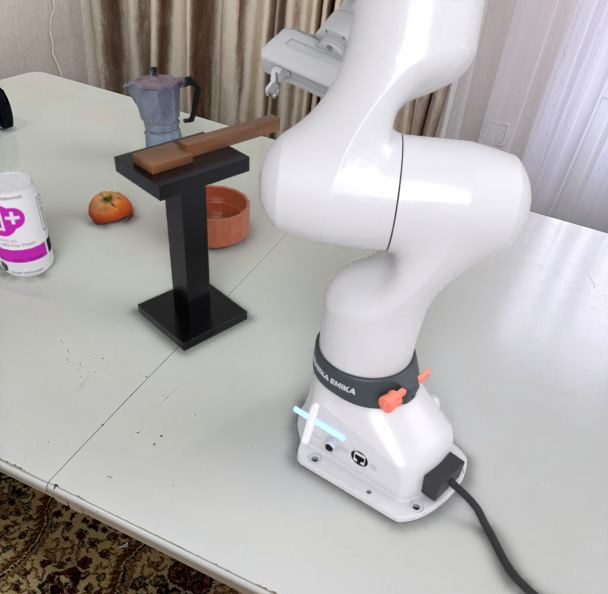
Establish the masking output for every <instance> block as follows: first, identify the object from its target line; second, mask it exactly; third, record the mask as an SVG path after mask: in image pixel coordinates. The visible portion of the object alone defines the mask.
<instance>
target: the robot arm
mask: <svg viewBox="0 0 608 594" xmlns="http://www.w3.org/2000/svg"><path fill="white" fill-rule="evenodd" d="M485 4H486V0H342V2H341V5H340V7H339V8H337V9H336V10H334V11H333V12H332V13H331V14H330V15H329V16H328V18H326V20H325V21H324V23H323V24H322V25H321V26H320V27H319V29H318V30H317V31H316V32H315V34H312V33H311V32H307V31H304V30H302V29H300V28H299V27H294V26H293V27H292V28H283V29H281V30H280V32H279V33H277V34H276V35H275V36H273V37H272V38H271V39H270V40H269V41H268V42H267V43H266V44H265V45H264V46H263V47H262V48H261V50H260V52H259V58H260V64H261V65H260V66H261V69H262V72H264V73H266V74H268V75H270V81H269V82H268V84H267V85H266V87H265V96H266V97H269V98H271V99H273V100H275V99H276V98H277V96H279V94H280V93H281V91H280V84H281V82H283V81H284V82H285V83H287V84H290V85H293V86H295V87H297V88H299V89H301V90H303V91H305V92H308V93H310V94H312V95H314V96H316V97H319V98H321V99H320V101H319V102H318V103H317V104H316V105H315V106H314V107H313V109H312V110H311V111H310V112H309V113H308V114H306V115H305V116H304V117H303V118H302V119H301V120H299V121H298V122H296V123H295V124H294V125H293V126H291V127H290V128H288V129H286V130H285V131H283V132H282V133H281V134H279V136H278V137H277V138H276V139H275V140H274V141H273V143H271V145H270V146H269V148H268V149H267V151H266V153H265V155H264V156H263V159H262V162H261V165H260V169H259V173H258V183H257V185H258V196H259V201H260V205H261V208H262V210H263V212H264V215H265V217H266V218H267V221H269V223H270V224H271V226H272V227H273V228H274V229H275V230H276V231H277V232H280V233H283V234H285V235H289V236H292V237H294V238H297V239H302V240H304V241H308V242H311V243H314V244H318V245H324V246H325V245H326V246H336V247H346V248H354V249H365V250H377V251H375V252H374V253H372V254H369V255H367V256H365V257H361V258H359V259H356V260H354V261H351V262H350V263H347V264H346V265H345V266H343V267H342V268H341V269H339V271H337V272H336V273H335V275H333V277H332V278H331V279H330V280H329V281H328V283H327V285H326V287H325V289H324V293H323V301H322V310H321V319H320V328H319V331H318V333H317V335H316V337H315V343H314V347H313V353H312V369H313V375H312V380H311V384H310V387H309V390H308V394H307V397H306V398H305V401H304V403H303V405H302V406H301V408H299V407H298V406H296V405H295V406H294V407H293V412H294V413H296V414H298V416H297V420H296V421H297V424H296V425H297V431H298V432H297V433H298V436H299V445H298V448H297V452H296V461H297V463H298V464H300V465H301V466H302V467H304V468H306V469H307V470H309V471H310V472H312V473H313V474H316V475H317V476H319V477H320V478H322V479H324V480H326V481H327V482H329V483H330V484H332V485H334V486H336V487H338V488H339V489H340V490H342V491H344V492H345V493H347V494H348V495H350V496H352V497H354V498H355V499H356V500H359V501H361V502H362V503H364V504H365V505H367V506H369V507H370V508H372V509H374V510H375V511H377V512H378V513H380V514H381V515H383V516H385V517H387V518H388V519H390V520H391V521H393V522H396V523H407V522H412V521H416V520H419V519H421V518H423V517H426V516H428V515H429V514H431V513H433V512H434V511H435V510H437V509H438V508H440V506H442V505H443V504H445V502H447V500H449V498H451V497H452V495H454V493H457V494H458V495H459V496H460V497H461V498H462V499H463V500H464V501H465V502H466V503H467V504H468V505H469V506H470V508H471V510H473V512H474V514H475V515H476V517H477V519H478V522H479V524H480V526H481V527H482V529H483V531H484V532H485V533H484V534H485V535H486V536H487V539H488V540H489V543H490V544H491V546H492V549H493V550H494V553H495V555H496V557H497V558H498V561H499V562H500V564H501V565H502V567H503V569H504V571H505V572H506V573H507V575H508V577H510V578H511V580H512V581H513V582H514V583H515V584H516V585H517V586H518V588H520V589H521V590H522V592H524V593H525V594H540V593H539V592H538V591H537V590H535V589H534V588H533V587H532V586H531V585H530V584H528V583H527V581H525V579H523V577H522V576H521V575H520V573H518V571H517V570H516V569H515V567H514V566H513V565H512V563H511V561H510V559H509V558H508V556H507V555H506V553H505V551H504V548H503V546H502V544H501V542H500V541H499V538H498V537H497V535H496V533H495V531H494V530H493V527H492V526H491V524H490V522H489V520H488V518H487V516H486V514H485V512H484V510H483V508H482V507H481V505H480V504H479V503H478V502H477V500H476V498H474V497H473V496H472V495H471V494H470V493H469V492H468V491H467V490H466V489H465V487H463V486H462V485H461V483H462V482H463V480H464V477H465V474H466V471H467V465H468V457H467V456H466V454H465V453H464V452H463V451H462V450H461V449H460V448H459V447H458V446H457V445H456V444H455V443H454V439H455V437H454V436H455V435H454V430H453V426H452V424H451V422H450V421H449V419H448V418H447V416H446V415H445V414H444V413H443V411H442V410H441V401H440V399H439V397H438V396H437V395H436V394H434V393H430V392H429V391H428V389H427V388H426V386H425V385H424V383H423V382H425V381H426V380H427V379H428V377H429V376H430V372H431V370H432V369H431V368H430V367H429V368H427V369H426V370H424V371H423V372H421V373H420V367H419V360H418V355H417V350H416V344H417V341H418V337H419V334H420V331H421V328H422V325H423V322H424V320H425V317H426V314H427V311H428V309H429V308H430V306H431V304H432V303H433V301H434V300H435V298H436V297H437V296H438V295H439V294H440V293H441V291H442V290H444V288H445V287H446V286H448V284H449V283H450V282H452V281H453V280H454V279H455V278H457V277H458V276H460V274H462V273H463V272H465V271H466V270H469V268H471V267H473V266H475V265H477V264H479V263H481V262H483V261H485V260H487V259H489V258H492V257H495V256H498V255H500V254H501V253H503V252H504V251H506V250H507V249H508V248H509V247H510V246H511V245H512V244H513V243H514V242H515V241H516V239H518V237H519V236H520V235H521V233H522V232H523V229H524V227H525V226H526V224H527V221H528V218H529V216H530V211H531V207H532V197H533V196H532V186H531V182H530V177H529V174H528V172H527V169H526V168H525V166H524V163H523V162H522V160H520V158H519V157H518V156H517V155H515V154H513V153H510V152H507V151H506V150H505V151H504V150H502V149H499V148H496V147H493V146H490V145H486V144H483V143H479V142H476V141H473V140H465V139H455V138H446V137H445V138H444V137H436V136H425V135H414V134H405V133H402V132H399V131H397V130H395V128H394V124H395V119H396V117H397V115H398V113H399V112H400V110H401V109H402V108H403V107H404V106H405V105H406V104H408V103H410V102H411V101H414V100H417V99H420V98H422V97H425V96H428V95H429V94H432V93H434V92H437V91H439V90H441V89H444V88H445V87H447V86H449V85H452V84H453V83H454V82H456V81H457V80H458V79H460V78H461V77H462V76H463V75H464V74H465V73H466V72H467V71H468V70H469V68H470V67H471V65H472V63H473V61H474V59H475V57H476V55H477V52H478V50H477V49H478V45H479V40H480V33H481V29H482V28H481V27H482V22H483V17H484V10H485ZM415 508H416V509H415Z"/></svg>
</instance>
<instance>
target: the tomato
mask: <svg viewBox="0 0 608 594" xmlns="http://www.w3.org/2000/svg"><path fill="white" fill-rule="evenodd" d="M87 212H88V216H89V217H90V219H91V221H92V222H93V223H94V224H95V225H97V226H98V225H103V224H106V223H109V222H115V223H116V222H118V221H119V220H120V219H123V218H124V217H128V219H127V221H129V220H131V219H132V217H134V216H135V215H134V209H133V205H132V203H131V201H130V199H129V198H128V197H127V196H125V194H122V193H121V192H119V191H114V190H108V191H107V190H103V191H100V192H98V193H97V194H95V195H94V196H93V197H92V198H91V199H90V202H89V204H88V211H87Z"/></svg>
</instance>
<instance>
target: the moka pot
mask: <svg viewBox="0 0 608 594" xmlns="http://www.w3.org/2000/svg"><path fill="white" fill-rule="evenodd" d="M149 70H150V74H148V75H141V76H138V77H136V78H135V79H132V80H129V81H126V82H125V83H124V84H123V86H122V88H123V89H125V90H126V92H127V93H128V94H129V96H130V97H131V99H132V101H133V102H134V104H135V105H136V107H137V109H138V112H139V116H140V117H139V118H140V119H141V120H142V122H143V126H144V131H143V133H144V137H145V148H146V147H150V146H154V145H157V144H161V143H164V142H168V141H171V140H175V139H179V138H182V137H183V134H182V131H181V128H180V122H181V119H180V117H181V116H180V115H181V88H183V89H185V88H187V87H190V86H192V87H193V89H194V92H193V98H192V103H191V111H190V114H189V117H187V118H183V119H182V122H183V123H184V124H188V123H190V124H191V123H194V122H195V119H196V115H197V110H198V106H199V102H200V98H201V94H202V86H201V85H200V84H199V82H198V81H196V80H195V78H193V77H192V75H188V76H185V77H183V76H177V77H174V76H173V75H171V74H161V73H160V74H158V67H157V66H151V67H149Z"/></svg>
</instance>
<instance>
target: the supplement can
mask: <svg viewBox="0 0 608 594" xmlns="http://www.w3.org/2000/svg"><path fill="white" fill-rule="evenodd" d="M54 262H55V255H54V251H53V246H52V242H51V238H50V233H49V229H48V224H47V220H46V217H45V211H44V207H43V202H42V198H41V194H40V191H39V186H38V185H37V184H36V183H35V182H34V181H33V180H32V177H31V176H30V175H29V174H26V173H24V172H20V171H19V172H18V171H3V172H0V266H1V268H2V269H3V270H4V272H6V273H8V274H9V275H12V276H14V277H19V278H30V277H34V276H35V277H36V276H38V275H41V274H43V273H45V272H46V271H47V270H49V269H50V268H51V266H52V265H53V264H54Z"/></svg>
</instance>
